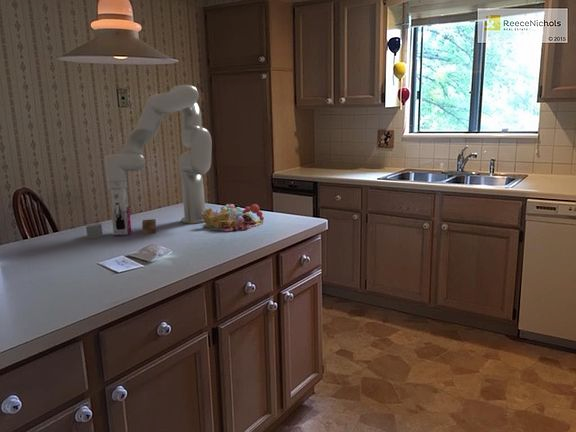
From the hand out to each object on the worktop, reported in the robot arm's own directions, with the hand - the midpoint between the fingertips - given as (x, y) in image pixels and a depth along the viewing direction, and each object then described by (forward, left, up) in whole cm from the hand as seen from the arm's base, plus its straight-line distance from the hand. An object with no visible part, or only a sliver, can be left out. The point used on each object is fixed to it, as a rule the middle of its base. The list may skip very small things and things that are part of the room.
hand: (122, 226), depth 202 cm
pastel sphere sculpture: (-46, -2, -4) cm, 46 cm away
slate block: (+11, 0, -3) cm, 11 cm away
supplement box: (0, 0, -3) cm, 3 cm away
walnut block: (-11, 0, -3) cm, 11 cm away
